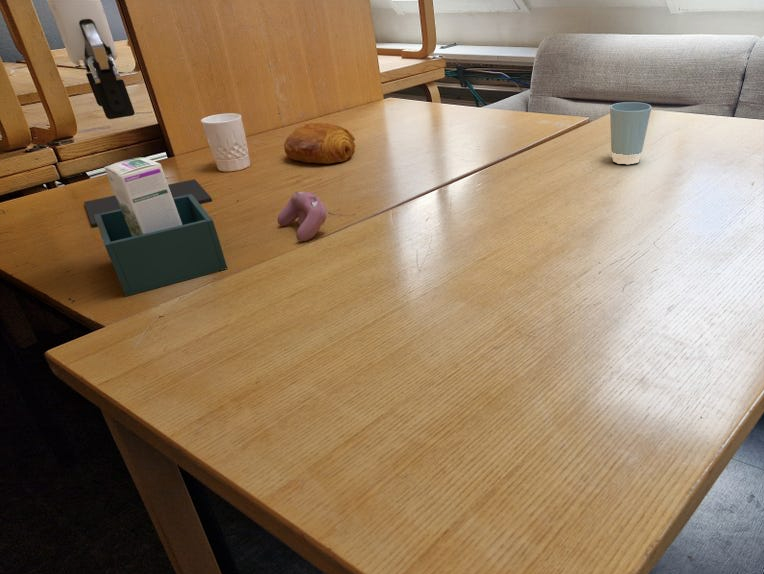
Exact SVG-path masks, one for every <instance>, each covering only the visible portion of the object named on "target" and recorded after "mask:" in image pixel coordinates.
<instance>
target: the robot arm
mask: <svg viewBox="0 0 764 574" xmlns="http://www.w3.org/2000/svg"><path fill="white" fill-rule="evenodd" d="M46 2H47V5H48V8H49V10H50V13H51V15H52V19H53V21H54V23H55V25H56V28H57V30H58V33H59V36H60V38H61V42H62V43H63V45H64V48H65V50H66V53H67V56H68V58H69V60H70V61H71V62H72V63H73V64H74V65H76V66H81V62H80V61H82V62H83V65H84V68H85V70H86V73H85V75H86V79H87V81H88V84H89V85H90V89H91V91H92V93H93V96H94V99H95V101H96V104H97V105H98V106H99V107H102V111H103V113H104V115H105V118H106V119H108V120H115V119H121V118H126V117H133V116H135V114H136V112H135V109H134V107H133V103H132V100H131V98H130V95H129V92H128V89H127V87H126V83H125V81H124V79H122V77H121V74H120V72H119V70H118V67H117V65H116V62H115V61H116V59H117V58H118V52H117V49H116V45H115V41H114V37H113V34H112V32H111V29H110V25H109V22H108V19H107V16H106V11H105V9H104V7H103V4H102V1H101V0H46Z"/></svg>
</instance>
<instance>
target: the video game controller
mask: <svg viewBox="0 0 764 574" xmlns="http://www.w3.org/2000/svg"><path fill="white" fill-rule="evenodd" d="M327 218H328V210H327V206H326V205H325V204H323V202H322V200H321V199H320V197H319V196H318V195H317V194H315V193H313V192H309V191H300V192H298V191H297V190H296V191H295V194H293V195H292V196H291V197H290V199H289V200H288V202H287V203H286V205H285V206H284V207H283V208H282V209H281V211H280V212H279V214H278V216H277V224H278V225H279V226H281V227H286V226H289V225H291V224H292V223H294V222H295V221H296V220H297V223H298V225H299V227H298V229H297V231H296V235H295V236H296V240H298V241H299V242H300V243H304V242H307V241H309V240H311V239H312V238H313V237H315V235H316V234H317V233H318V232H319V231H320V229H321V227H322V225H324V223H325V222H326V220H327ZM303 241H304V242H303Z"/></svg>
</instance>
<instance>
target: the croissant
mask: <svg viewBox="0 0 764 574" xmlns="http://www.w3.org/2000/svg"><path fill="white" fill-rule="evenodd" d="M355 141H356V137H355V136H354V135H353V134H352V133H351V132H350V131H349V130H348V129H346V128H344V127H342V126H340V125H337V124H331V123H324V122H310V123H306V124H303V125H301V126H299V127H296V128H295V129H293V130H292V132H291V133H289V135H288V136H287V137H286V139H285V140H284V143H283V149H284V153H285V155H286V156H287V158H288V159H291V160H293V161H297V162H303V163H308V164H326V165H327V164H336V163H338V162H339V163H340V162H341V163H342V162H345V161H347V160H348V159H350V158H351V157H352V156H353V155H354V153H355V149H356V144H355Z"/></svg>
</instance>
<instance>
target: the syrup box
mask: <svg viewBox="0 0 764 574" xmlns="http://www.w3.org/2000/svg"><path fill="white" fill-rule="evenodd" d="M104 171H105V173H106V175H107V178H108V181H109V183H110V186H111V189H112V191H113V193H114V196H116V198H117V201H118V203H119V206H120V208H121V211H122V213H123V216H124V218H125V221H126V223H127V225H128V228H129V231H130V233H131V236H132V237H133V236H137V235H142V234H146V233H150V232H155V231H159V230H163V229H167V228H172V227H176V226H180V225H182V222H181V219H180V217H179V214H178V211H177V208H176V205H175V203H174V200H173V197H172V194H171V192H170V189H169V186H168V185H169V184H168V180H167V178H166V174H165V172H164V169H163V166H162V164H161V163H160V162H157V161H154V160H152V159H151V158H147V157H144V156H141V157H140V156H139V157H133V158H129V159H124V160H121V161H118V162H115V163H112V164H109V165H106V166H104Z"/></svg>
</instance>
